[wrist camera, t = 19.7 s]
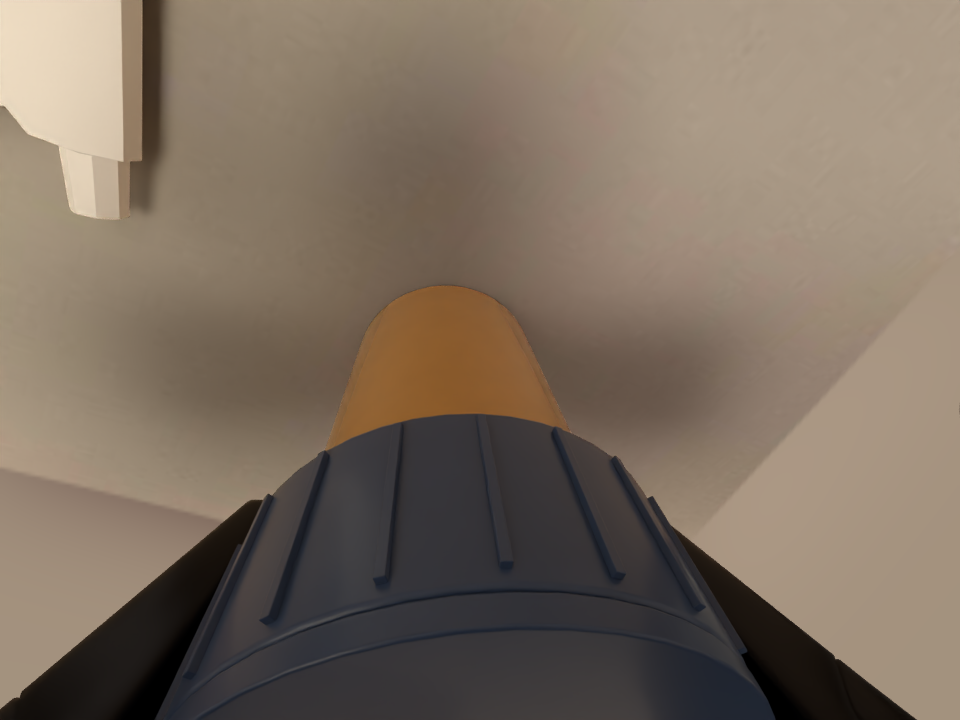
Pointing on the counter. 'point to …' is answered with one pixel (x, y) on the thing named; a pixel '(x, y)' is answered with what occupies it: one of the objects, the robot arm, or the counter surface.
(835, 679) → the robot arm
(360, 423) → the jar
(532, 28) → the counter surface
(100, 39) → the spray bottle
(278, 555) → the jar lid
